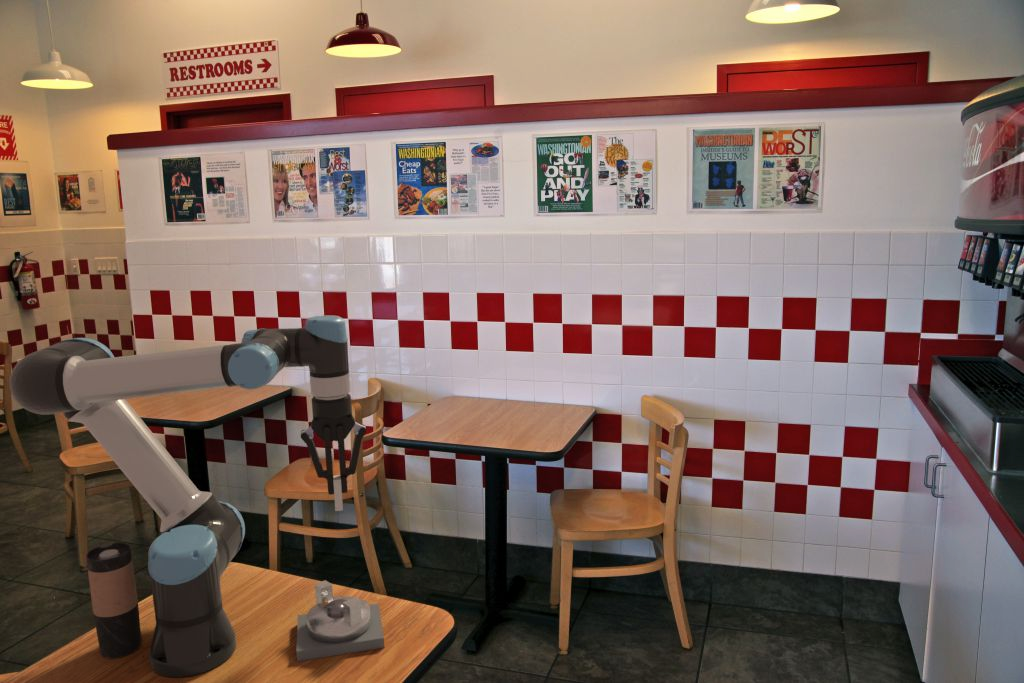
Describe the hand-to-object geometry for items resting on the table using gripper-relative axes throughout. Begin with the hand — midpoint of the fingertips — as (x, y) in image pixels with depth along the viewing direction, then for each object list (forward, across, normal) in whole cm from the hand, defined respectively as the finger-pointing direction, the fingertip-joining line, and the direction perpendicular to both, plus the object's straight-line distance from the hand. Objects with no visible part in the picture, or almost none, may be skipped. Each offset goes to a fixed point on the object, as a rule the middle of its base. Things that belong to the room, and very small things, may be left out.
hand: (339, 508), depth 159 cm
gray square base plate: (+22, +2, +10) cm, 24 cm away
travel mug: (+23, +42, +2) cm, 48 cm away
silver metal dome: (+20, +2, +10) cm, 22 cm away
